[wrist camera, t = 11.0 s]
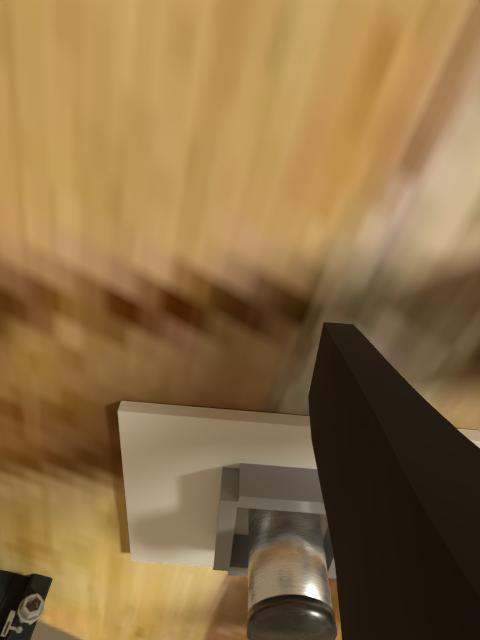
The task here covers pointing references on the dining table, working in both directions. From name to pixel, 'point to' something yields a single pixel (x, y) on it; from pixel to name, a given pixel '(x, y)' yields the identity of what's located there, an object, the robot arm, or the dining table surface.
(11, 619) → the black camera
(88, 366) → the dining table surface
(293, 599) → the lens
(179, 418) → the mount plate
